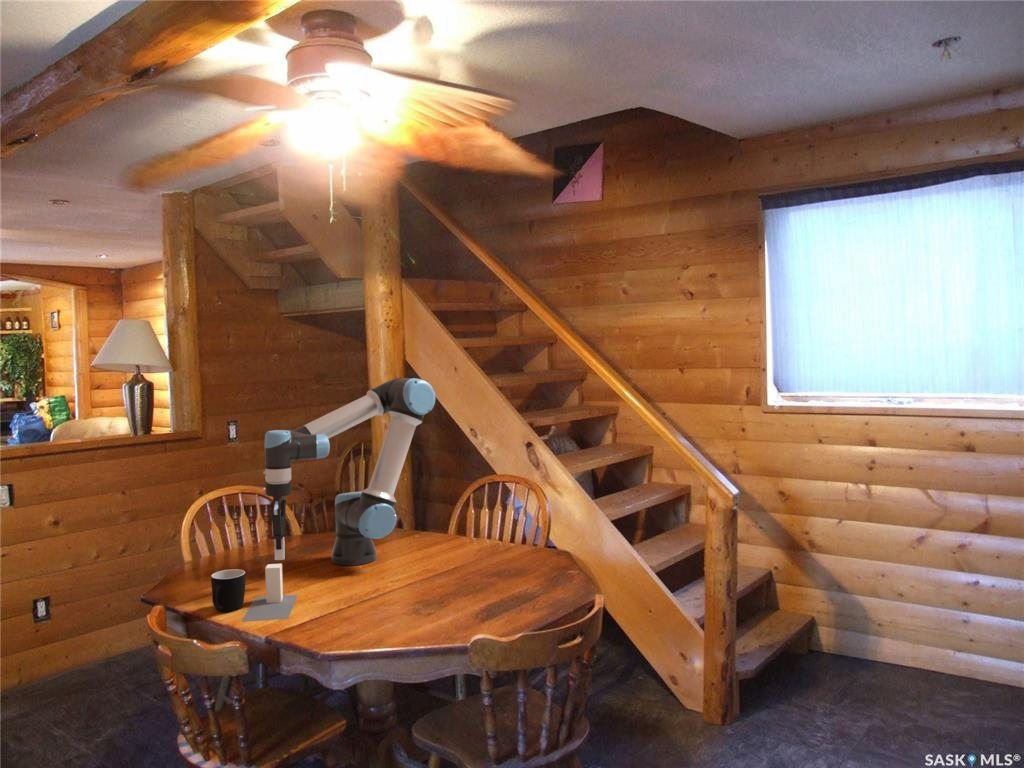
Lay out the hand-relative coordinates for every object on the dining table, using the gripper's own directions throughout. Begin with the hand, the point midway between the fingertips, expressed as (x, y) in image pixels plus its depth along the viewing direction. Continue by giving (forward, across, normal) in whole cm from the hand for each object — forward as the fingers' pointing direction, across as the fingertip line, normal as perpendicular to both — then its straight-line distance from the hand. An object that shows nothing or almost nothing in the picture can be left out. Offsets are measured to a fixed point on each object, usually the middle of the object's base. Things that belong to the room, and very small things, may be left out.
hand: (279, 559), depth 235 cm
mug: (+9, +19, -11) cm, 24 cm away
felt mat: (+9, +19, +1) cm, 21 cm away
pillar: (+8, +13, 0) cm, 16 cm away
